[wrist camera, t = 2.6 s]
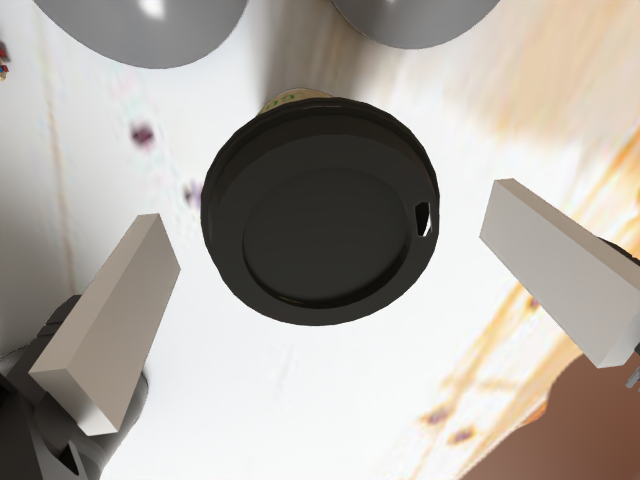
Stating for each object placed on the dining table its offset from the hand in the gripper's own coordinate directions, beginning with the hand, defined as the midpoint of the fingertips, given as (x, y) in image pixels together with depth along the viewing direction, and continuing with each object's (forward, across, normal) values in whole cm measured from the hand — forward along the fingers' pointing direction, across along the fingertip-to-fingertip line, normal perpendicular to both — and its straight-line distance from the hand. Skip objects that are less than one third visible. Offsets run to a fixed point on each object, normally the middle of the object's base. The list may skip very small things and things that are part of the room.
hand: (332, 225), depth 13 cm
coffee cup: (+14, 0, 0) cm, 14 cm away
